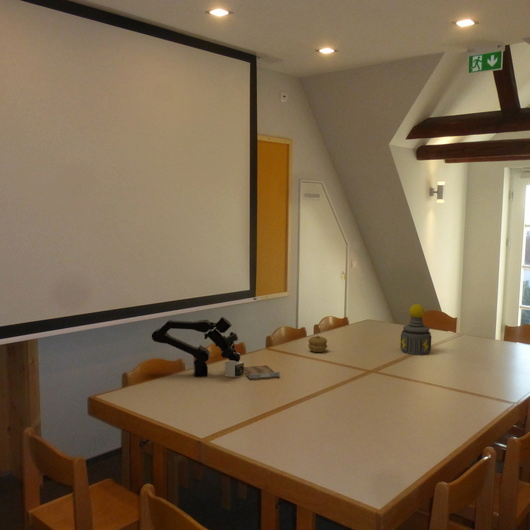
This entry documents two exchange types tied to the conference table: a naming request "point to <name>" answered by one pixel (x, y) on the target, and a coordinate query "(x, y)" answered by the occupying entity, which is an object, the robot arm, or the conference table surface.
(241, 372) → the medicine bottle
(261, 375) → the price rail
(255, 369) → the shelf board
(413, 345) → the decorative lamp
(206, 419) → the conference table surface
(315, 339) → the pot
